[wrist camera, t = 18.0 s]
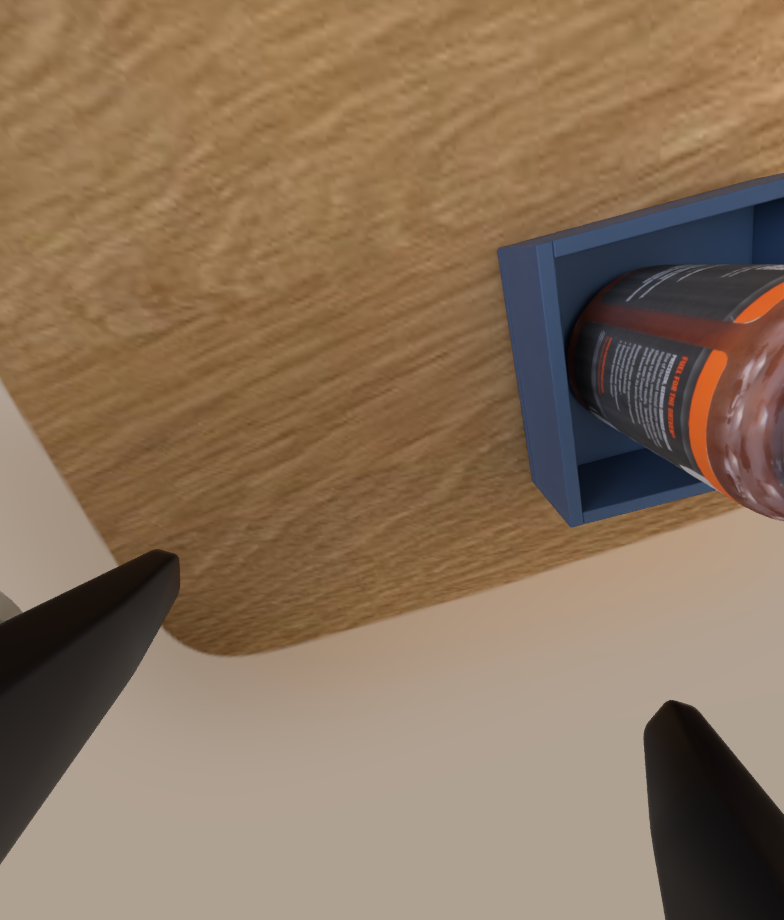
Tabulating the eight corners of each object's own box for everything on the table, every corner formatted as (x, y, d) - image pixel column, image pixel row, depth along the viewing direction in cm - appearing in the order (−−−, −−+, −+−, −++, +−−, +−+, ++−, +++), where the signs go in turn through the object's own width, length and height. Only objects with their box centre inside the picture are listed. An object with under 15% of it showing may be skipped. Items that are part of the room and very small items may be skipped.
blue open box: (532, 481, 21) (570, 528, 18) (496, 248, 18) (535, 244, 14) (748, 425, 21) (834, 460, 17) (757, 178, 17) (867, 155, 14)
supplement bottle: (600, 449, 20) (867, 648, 10) (533, 328, 18) (780, 416, 8) (734, 365, 19) (1185, 486, 9) (679, 227, 17) (1182, 175, 7)
